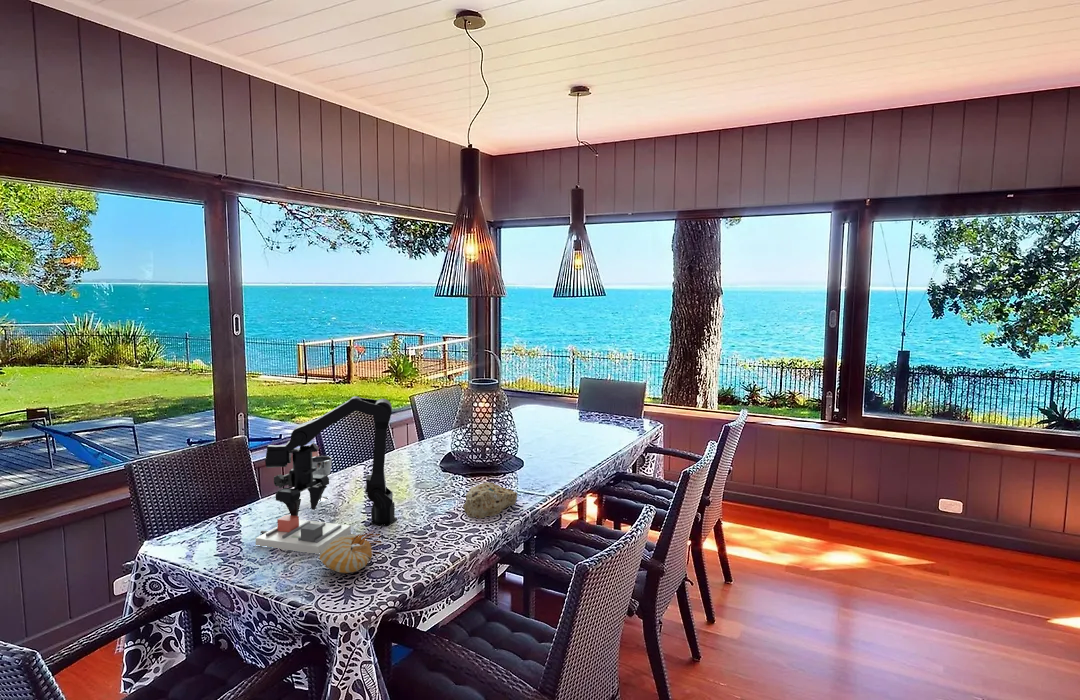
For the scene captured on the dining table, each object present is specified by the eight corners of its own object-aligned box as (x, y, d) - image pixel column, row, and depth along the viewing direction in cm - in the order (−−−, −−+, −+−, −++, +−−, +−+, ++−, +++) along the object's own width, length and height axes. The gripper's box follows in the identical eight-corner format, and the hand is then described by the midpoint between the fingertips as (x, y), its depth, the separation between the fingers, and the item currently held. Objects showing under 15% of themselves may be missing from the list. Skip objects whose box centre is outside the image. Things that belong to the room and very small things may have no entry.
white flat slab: (350, 533, 182) (350, 523, 182) (318, 554, 167) (318, 543, 167) (278, 524, 189) (278, 514, 189) (241, 544, 174) (241, 533, 174)
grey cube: (322, 536, 173) (322, 524, 173) (314, 542, 170) (313, 530, 169) (309, 534, 174) (309, 523, 174) (300, 540, 171) (300, 528, 170)
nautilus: (367, 546, 175) (404, 561, 167) (304, 569, 156) (342, 587, 148) (369, 519, 174) (406, 533, 166) (306, 540, 156) (345, 557, 148)
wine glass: (307, 504, 207) (306, 462, 205) (309, 497, 214) (308, 456, 213) (331, 502, 209) (330, 461, 207) (333, 495, 216) (332, 455, 215)
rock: (483, 499, 217) (490, 473, 216) (517, 515, 211) (524, 488, 210) (452, 511, 198) (460, 483, 197) (488, 529, 192) (496, 500, 191)
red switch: (299, 527, 180) (298, 516, 180) (290, 532, 176) (290, 521, 176) (286, 525, 181) (286, 514, 181) (277, 530, 177) (277, 519, 177)
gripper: (300, 455, 195) (301, 501, 197) (259, 471, 177) (261, 522, 179) (329, 458, 192) (330, 505, 194) (291, 475, 174) (292, 526, 176)
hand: (304, 514), depth 186 cm, fingers open, 9 cm apart
